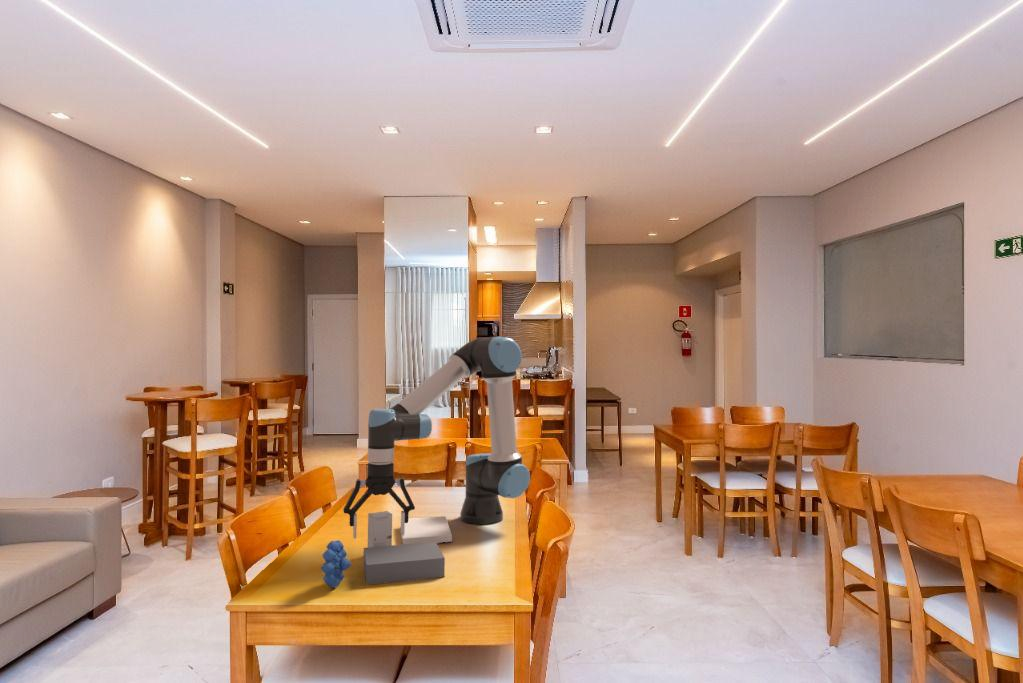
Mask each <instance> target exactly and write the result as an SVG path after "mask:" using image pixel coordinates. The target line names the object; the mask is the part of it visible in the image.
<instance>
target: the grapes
mask: <svg viewBox="0 0 1023 683" xmlns="http://www.w3.org/2000/svg"><path fill="white" fill-rule="evenodd" d="M344 547H345V546H344V544H343V542H342V541H341V540H339V539H338V540H331V541H329V543H327V545H326V548H327V549H326V550H325V551H324V552H323V553H322V555H321V556H322V558H323V560H324V561H325V562H324V563H322V565H321V567H320V569H321V571H322V572H323V574H324V575H323V578H322V580H323V582H324V583H325V584H326V585H328V586H329V587H330V588H332V589H335V588H337V587H338V586H339V585H340V583H341V582H342V581H343V580H344V578H345V575H344V572H345V571H347V570H348V569H349V568H350V567H351V565H352V563H351V561H350V560H349V559H348V558H347V557H346V556H347V555H348V553H347V551H346V550H345V548H344Z"/></svg>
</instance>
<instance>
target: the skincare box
mask: <svg viewBox="0 0 1023 683" xmlns="http://www.w3.org/2000/svg"><path fill="white" fill-rule="evenodd" d="M367 516H368V518H367V548H369V547H381V546H393V544H392V543H393V542H392V541H393V540H392V539H393V513H391V512H390V511H388V510H386V511H377V512H375V511H374V512H369V513H368V514H367Z"/></svg>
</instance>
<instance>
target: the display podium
mask: <svg viewBox="0 0 1023 683" xmlns="http://www.w3.org/2000/svg"><path fill="white" fill-rule="evenodd" d="M438 545H439V544H437V543H436V542H429V543H417V544H405V545H403V544H396V545H395V544H394V545H393V544H392V546H381V547H369V548H368V547H363V566H364V567H363V570H364V571H363V572H365V573H364V578H366V579H365V584H370V585H374V584H373V583H380V584H385V583H384V582H390V583H397V582H396V581H400V582H408V581H407V580H410V581H417V580H416V579H420V580H427V578H430V579H437V578H436V577H440V578H445V570H446V569H445V568H446V567H445V562H446V560H445V556H444V555H443V552H442V551H441V549H440V547H439V546H438Z"/></svg>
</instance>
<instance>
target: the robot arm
mask: <svg viewBox="0 0 1023 683" xmlns="http://www.w3.org/2000/svg"><path fill="white" fill-rule="evenodd" d="M522 354H523V353H522V351H521V348H520V346H519V343H517V342H516V341H515V340H514V339H513V338H510V337H506V336H489V337H488V336H487V337H484V336H483V337H481V336H480V337H476V338H473V339H471V340H470V341H469V342H467V343H465V344H464V345H462V346H461V347H460V348H459V349H458V350H456V351H455V352H454V353H452V354H451V355H450V356H449V358H448V359H449V360H448V361H447V362H446V363H445V364H443V365H442V366H441V367H440V368H439V369H437V370H436V371H435V372H434V373H432V374H431V375H430V376H429V377H428V378H427V379H425V380H423V382H422V383H420V384H419V385H418V386H417V387H416V388H415V389H413V390H412V391H410V393H408V394H407V395H406V396H405V397H403V398H402V399H401V400H400V401H399V402H398V403H396V404H394V406H393V407H391V408H373V409H371V410H370V411H369V414H368V422H367V423H368V424H367V428H368V429H367V430H368V433H367V434H368V437H367V438H368V440H367V462H368V463H367V465H366V466H367V467H366V468H367V469H366V474H367V475H366V479H360V478H357V479H356V480H355V484H354V488H353V490H352V492H351V494H350V496H349V497H348V500H347V502H346V503H345V505H344V506H343V509H342V511H343V513H344V514H347V515H349V526H350V527H353V532H352V533H353V535H352V538H353V540H354V539H357V527H358V525H357V524H358V523H357V522H358V521H357V520H358V515H357V514H358V513H357V511H358V510H359V509H360V508H361V507H362V505H363V504H365V503H366V501H367V500H368V499H369V498H370V497H371V496H372V495H373V496H379V495H382V496H385V495H387V494H389V495H390V496H391V497H392V498H393V499H394V501H395V502H396V503H397V504H398V506H400V508H401V509H402V510H400V534H401V535H400V536H402V535H404V527H405V523H408V519H409V515H410V514H409V512H410V511H414V510H415V509H416V506H415V505H414V501H413V500H412V498H411V497H410V494H409V492H408V489H407V488H406V485H405V479H404V478H403V477H399V478H394V474H395V473H394V471H395V470H394V466H395V465H394V461H395V442H396V441H407V440H408V441H409V440H418V441H419V440H421V439H426V438H428V437H430V436H431V433H432V429H433V426H432V425H433V422H432V419H431V418H430V416H429V415H428V414H425V413H424V414H422V413H423V412H424V411H426V410H427V409H428V408H429V407H430V406H432V405H433V404H434V403H436V401H437V400H438V399H440V398H441V397H442V396H443V395H445V394H446V393H447V392H448V391H449V390H451V388H453V387H454V386H456V385H457V383H459V382H460V381H461V380H462V379H467V378H469V377H471V376H472V375H473V374H475V373H477V372H481V379H482V380H483V381H484V382H485V384H486V393H487V403H488V404H487V405H488V406H487V407H488V418H489V432H490V434H489V436H490V446H491V447H490V448H491V452H485V453H476V454H475V453H474V454H470V455H468V456H467V457H466V458H465V466H464V468H465V497H464V500H463V504H462V507H461V510H460V517H459V519H460V521H461V522H463V521H464V523H466V522H467V524H471V523H473V524H472V525H488V524H489V523H492V524H496V523H499V522H501V521H503V519H504V513H503V512H504V511H503V508H502V505H501V502H500V499H499V496H501V497H502V498H507V499H516V498H519V497H521V496H522V495H523V494H524V493H525V492H526V490H527V489H528V487H529V485H530V481H531V475H530V474H531V473H530V470H529V468H528V467H527V466H526V465H525V464H523V457H522V454H521V453H520V452H519V451H518V447H517V435H516V434H517V432H516V421H515V418H516V417H515V405H514V391H513V390H514V389H513V388H514V387H513V380H514V379H515V378H516V376H517V370H518V369H519V368H520V365H521V364H522V358H523V356H522ZM395 484H396V485H397V486H398V487H400V489H401V491H402V493H403V496H404V497H405V499H406V501H407V504H408V505H406V504H405V502H404V501H403V500H402V499H401V498H400V496H398V494H397V493H396V492H395V490H393V487H394V486H395ZM363 486H366V487H367V489H366V490H365V492H364V493H363V494H362V496H361V497H360V498H359V499H358V501H356V503H355V504H354V505H353V506H352V504H353V503H354V500H356V497H357V495H358V493H359V491H360V489H361V488H363ZM351 506H352V507H351ZM495 522H496V523H495ZM489 525H490V524H489Z"/></svg>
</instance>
